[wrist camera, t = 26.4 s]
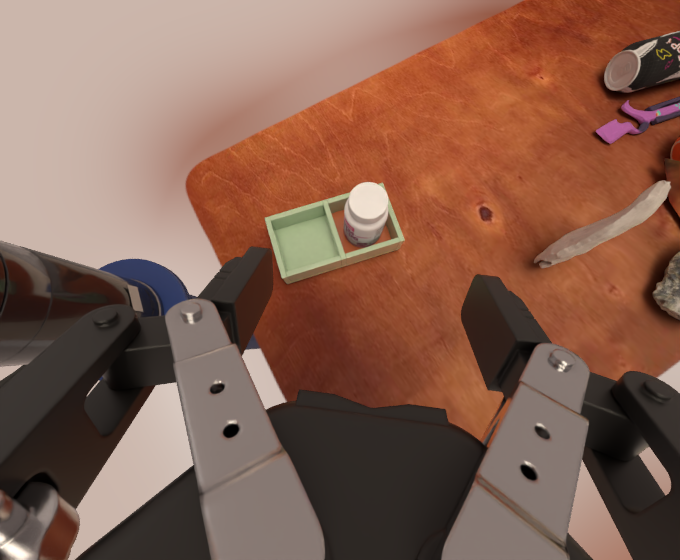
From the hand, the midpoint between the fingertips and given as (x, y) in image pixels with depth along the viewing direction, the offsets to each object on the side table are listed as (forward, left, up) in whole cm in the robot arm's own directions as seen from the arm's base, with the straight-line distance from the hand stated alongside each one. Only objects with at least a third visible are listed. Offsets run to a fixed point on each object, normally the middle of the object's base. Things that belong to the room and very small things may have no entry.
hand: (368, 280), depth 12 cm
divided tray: (+1, +11, -25) cm, 27 cm away
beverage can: (+57, +20, -22) cm, 64 cm away
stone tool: (+26, +1, -25) cm, 36 cm away
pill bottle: (+5, +10, -24) cm, 27 cm away
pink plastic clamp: (+50, +12, -24) cm, 57 cm away
